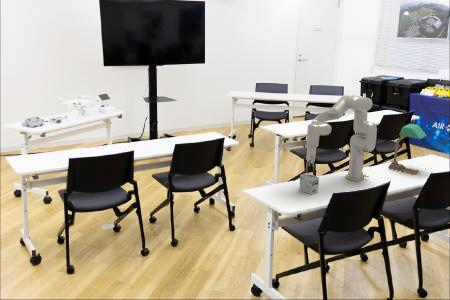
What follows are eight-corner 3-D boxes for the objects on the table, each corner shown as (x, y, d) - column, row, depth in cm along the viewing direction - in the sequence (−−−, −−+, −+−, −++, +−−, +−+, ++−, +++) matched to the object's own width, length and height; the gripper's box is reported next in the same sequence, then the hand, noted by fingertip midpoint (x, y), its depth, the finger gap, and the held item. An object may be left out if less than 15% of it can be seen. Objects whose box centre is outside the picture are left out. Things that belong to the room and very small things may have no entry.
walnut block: (313, 170, 291) (314, 162, 289) (314, 172, 286) (314, 165, 284) (305, 169, 291) (306, 162, 290) (306, 172, 286) (306, 164, 285)
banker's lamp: (393, 165, 351) (400, 121, 341) (421, 171, 338) (428, 126, 328) (386, 170, 339) (392, 124, 329) (414, 176, 326) (421, 129, 316)
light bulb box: (318, 192, 291) (319, 176, 288) (311, 194, 286) (312, 179, 283) (305, 187, 298) (306, 172, 295) (298, 189, 294) (299, 174, 291)
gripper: (305, 139, 292) (303, 166, 297) (307, 146, 276) (304, 174, 281) (317, 140, 291) (315, 167, 296) (319, 147, 275) (316, 175, 280)
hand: (310, 170), depth 288 cm, fingers closed on walnut block, 4 cm apart
